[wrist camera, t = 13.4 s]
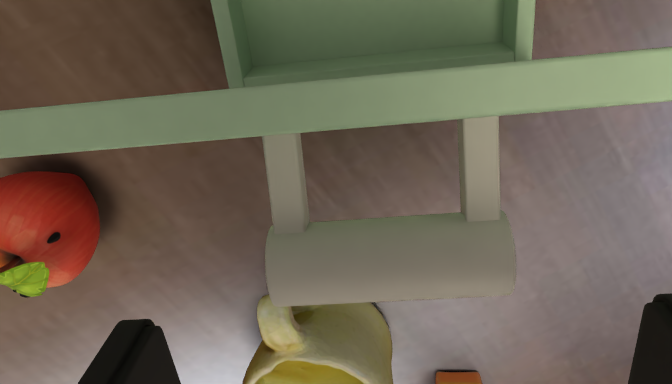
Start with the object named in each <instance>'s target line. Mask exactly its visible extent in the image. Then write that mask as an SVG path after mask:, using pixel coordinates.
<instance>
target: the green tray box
mask: <svg viewBox="0 0 672 384" xmlns="http://www.w3.org/2000/svg"><path fill="white" fill-rule="evenodd" d="M535 1H536V0H211V5H212V9H213V14H214V19H215V24H216V28H217V33H218V38H219V43H220V47H221V52H222V57H223V62H224V66H225V71H226V76H227V81H228V85H229V89H234V88H244V87H255V86H265V85H275V84H286V83H296V82H307V81H317V80H328V79H338V78H349V77H359V76H370V75H380V74H391V73H401V72H411V71H422V70H432V69H443V68H453V67H464V66H474V65H485V64H495V63H506V62H516V61H526V60H532V46H533V31H534V16H535Z"/></svg>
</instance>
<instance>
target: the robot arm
mask: <svg viewBox="0 0 672 384" xmlns="http://www.w3.org/2000/svg"><path fill="white" fill-rule="evenodd" d="M78 384H181V383H180V380H179V377H178V374H177V371H176V368H175V365H174V362H173V359H172V356H171V353H170V351H169V348H168V345H167V342H166V339H165V336H164V333H163V330H162V328H161V327H160V326H155V325H154V323H153V322H152V321H151V320H150V319H139V320H122V321H120V322H119V323H118V324H117V325H116V326H115V328H114V329H113V331H112V332H111V334H110V335H109V337H108V338H107V340H106V341H105V343H104V344H103V346H102V347H101V349H100V350H99V352H98V353H97V355H96V356H95V358H94V360H93V361H92V363H91V364H90V366H89V367H88V369H87V370H86V372H85V373H84V375H83V376H82V378H81V379H80V381H79V382H78ZM628 384H672V294H659V295H656V296H655V297H654V299H653V302H652V303H647V304H646V305H645V306H644V310H643V314H642V319H641V324H640V329H639V334H638V338H637V343H636V348H635V353H634V357H633V362H632V367H631V372H630V377H629V381H628Z"/></svg>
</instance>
